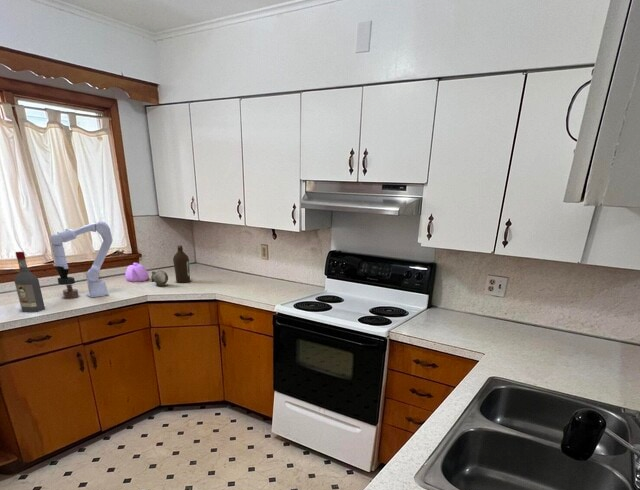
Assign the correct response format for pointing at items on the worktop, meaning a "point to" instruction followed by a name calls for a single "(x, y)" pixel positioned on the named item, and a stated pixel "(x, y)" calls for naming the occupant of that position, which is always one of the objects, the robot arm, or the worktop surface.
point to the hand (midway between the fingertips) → (64, 279)
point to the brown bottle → (70, 292)
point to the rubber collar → (66, 281)
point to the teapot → (136, 273)
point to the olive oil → (181, 266)
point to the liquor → (28, 287)
